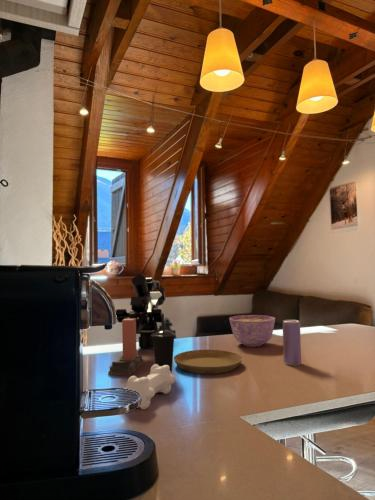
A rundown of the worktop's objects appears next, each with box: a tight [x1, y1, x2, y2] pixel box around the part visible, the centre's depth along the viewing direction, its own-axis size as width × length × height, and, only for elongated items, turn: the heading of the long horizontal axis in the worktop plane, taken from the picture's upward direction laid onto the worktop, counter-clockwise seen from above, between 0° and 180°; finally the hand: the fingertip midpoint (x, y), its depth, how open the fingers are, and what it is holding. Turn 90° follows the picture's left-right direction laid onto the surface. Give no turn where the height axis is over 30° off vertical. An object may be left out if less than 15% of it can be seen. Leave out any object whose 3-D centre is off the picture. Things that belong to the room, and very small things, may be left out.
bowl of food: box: [228, 314, 276, 348], centre depth 164 cm, size 20×20×12 cm
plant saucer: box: [173, 349, 243, 375], centre depth 132 cm, size 24×24×3 cm
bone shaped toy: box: [123, 363, 176, 410], centre depth 100 cm, size 15×9×8 cm, turn 155°
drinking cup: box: [151, 313, 176, 374], centre depth 120 cm, size 8×8×20 cm
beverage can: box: [282, 319, 302, 367], centre depth 132 cm, size 6×6×15 cm
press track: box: [107, 354, 144, 376], centre depth 131 cm, size 16×8×4 cm, turn 173°
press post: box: [121, 318, 139, 363], centre depth 135 cm, size 5×5×15 cm
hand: (135, 333), depth 144 cm, fingers closed
